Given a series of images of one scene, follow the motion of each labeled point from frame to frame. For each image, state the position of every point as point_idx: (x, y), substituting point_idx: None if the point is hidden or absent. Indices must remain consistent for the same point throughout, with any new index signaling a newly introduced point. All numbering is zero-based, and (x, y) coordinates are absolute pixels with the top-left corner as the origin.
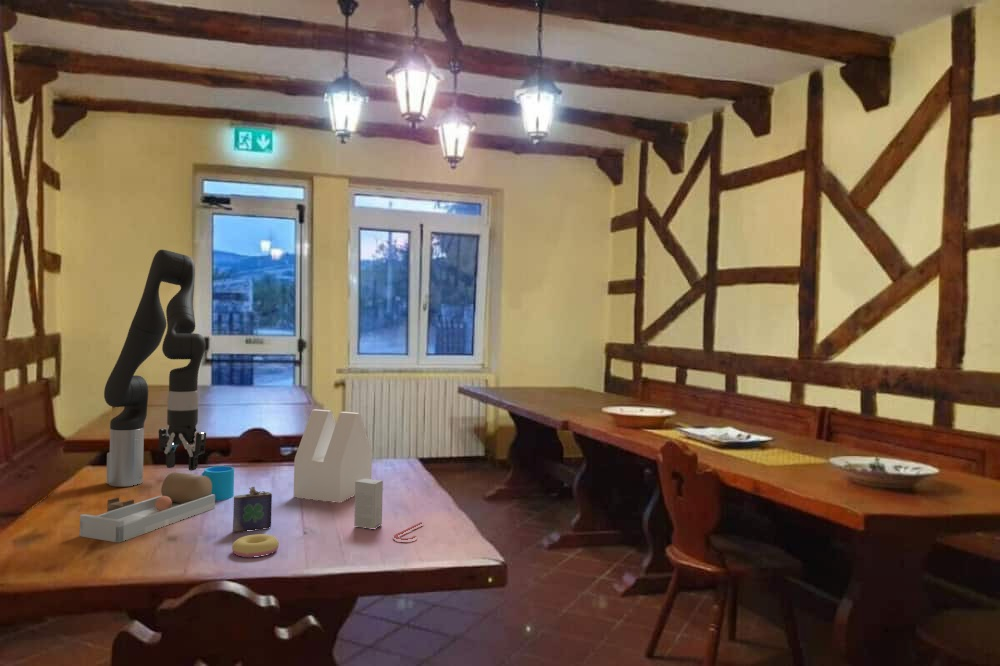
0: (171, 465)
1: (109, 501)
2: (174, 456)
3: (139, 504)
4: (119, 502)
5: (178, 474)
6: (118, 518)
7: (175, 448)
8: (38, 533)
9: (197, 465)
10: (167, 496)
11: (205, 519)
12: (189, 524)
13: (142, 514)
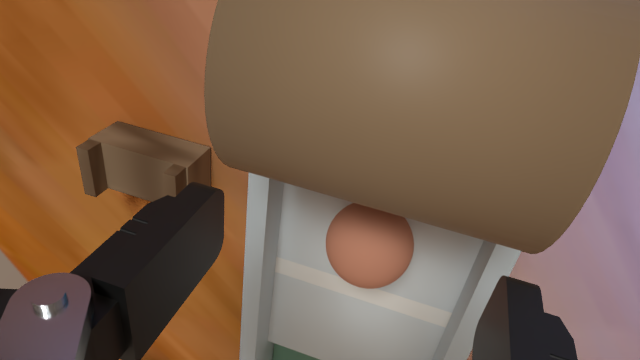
0: (212, 234)
1: (98, 193)
2: (154, 264)
3: (265, 257)
4: (119, 160)
5: (295, 143)
6: (270, 315)
7: (77, 357)
8: (145, 354)
9: (572, 347)
10: (374, 257)
11: (636, 213)
12: (572, 288)
13: (318, 268)
